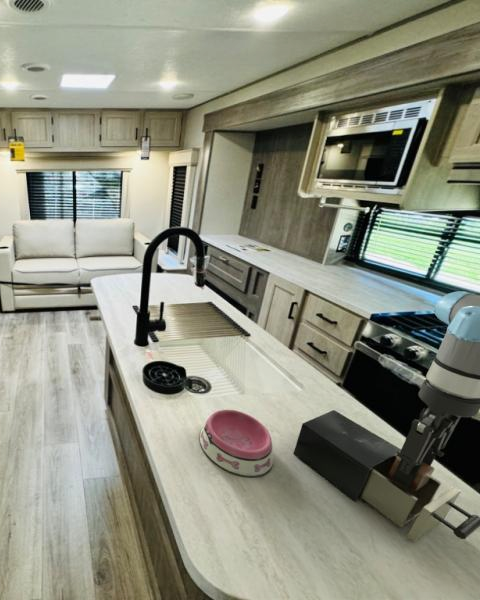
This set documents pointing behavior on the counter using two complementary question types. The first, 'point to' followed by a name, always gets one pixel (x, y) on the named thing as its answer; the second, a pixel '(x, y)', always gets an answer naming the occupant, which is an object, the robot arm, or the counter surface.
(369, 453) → the cabinet
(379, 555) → the counter surface
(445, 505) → the drawer
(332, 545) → the counter surface
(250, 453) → the dog bowl
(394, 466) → the block
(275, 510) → the counter surface
